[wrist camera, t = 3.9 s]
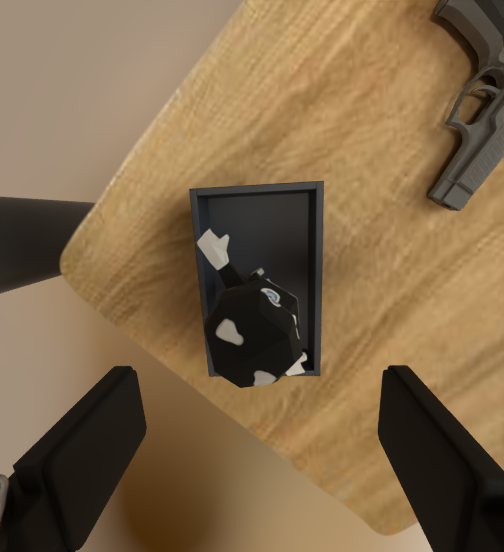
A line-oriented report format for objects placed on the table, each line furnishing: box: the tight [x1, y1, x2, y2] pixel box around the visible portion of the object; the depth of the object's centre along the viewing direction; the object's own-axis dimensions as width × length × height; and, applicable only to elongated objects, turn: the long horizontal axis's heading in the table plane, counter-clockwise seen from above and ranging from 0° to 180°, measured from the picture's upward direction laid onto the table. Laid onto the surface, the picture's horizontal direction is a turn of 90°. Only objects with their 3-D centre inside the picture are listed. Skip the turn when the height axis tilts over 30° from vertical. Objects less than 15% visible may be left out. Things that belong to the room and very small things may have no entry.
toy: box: [197, 229, 307, 388], centre depth 19 cm, size 13×6×15 cm, turn 33°
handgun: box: [428, 0, 504, 211], centre depth 21 cm, size 3×16×12 cm
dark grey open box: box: [189, 181, 324, 377], centre depth 25 cm, size 11×18×4 cm, turn 3°
